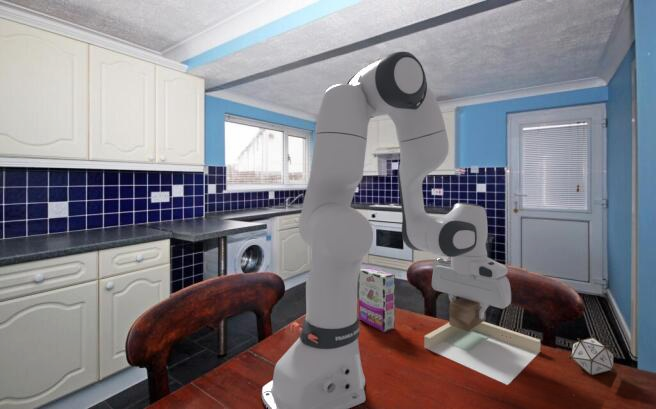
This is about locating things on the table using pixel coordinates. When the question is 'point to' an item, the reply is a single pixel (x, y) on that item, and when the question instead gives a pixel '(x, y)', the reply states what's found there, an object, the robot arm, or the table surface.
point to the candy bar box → (377, 298)
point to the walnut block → (465, 314)
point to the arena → (485, 349)
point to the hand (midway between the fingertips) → (467, 314)
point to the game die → (592, 356)
